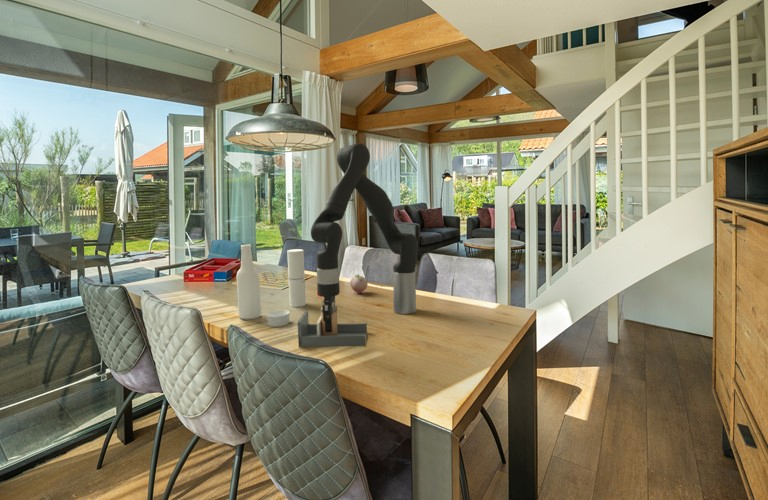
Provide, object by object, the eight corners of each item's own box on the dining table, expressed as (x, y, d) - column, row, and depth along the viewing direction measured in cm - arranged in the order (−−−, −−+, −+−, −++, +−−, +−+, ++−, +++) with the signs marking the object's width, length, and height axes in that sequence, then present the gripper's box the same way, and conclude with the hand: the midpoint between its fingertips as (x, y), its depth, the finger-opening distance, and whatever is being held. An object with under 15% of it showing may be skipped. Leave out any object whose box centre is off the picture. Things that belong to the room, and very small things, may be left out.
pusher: (324, 332, 143) (323, 313, 142) (319, 343, 133) (319, 323, 132) (322, 332, 143) (321, 313, 142) (317, 343, 133) (316, 323, 132)
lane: (366, 332, 144) (366, 309, 143) (365, 346, 131) (364, 321, 130) (306, 333, 144) (305, 310, 143) (298, 347, 131) (297, 322, 130)
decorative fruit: (371, 294, 198) (370, 274, 197) (356, 296, 194) (355, 276, 193) (362, 290, 206) (362, 271, 205) (348, 292, 202) (347, 273, 201)
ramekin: (271, 329, 149) (271, 318, 149) (263, 323, 157) (262, 312, 156) (293, 324, 155) (293, 313, 154) (285, 318, 162) (284, 308, 161)
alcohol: (266, 315, 166) (261, 244, 161) (248, 321, 158) (243, 246, 154) (252, 312, 171) (248, 242, 166) (234, 317, 163) (229, 245, 159)
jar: (338, 334, 140) (338, 304, 139) (337, 339, 135) (336, 309, 133) (323, 334, 140) (321, 305, 139) (320, 340, 135) (319, 309, 133)
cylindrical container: (286, 304, 181) (284, 250, 178) (300, 301, 186) (297, 248, 183) (295, 307, 176) (292, 252, 173) (308, 304, 181) (306, 250, 178)
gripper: (336, 285, 128) (338, 336, 130) (341, 276, 142) (342, 322, 144) (313, 286, 128) (315, 336, 130) (320, 276, 142) (322, 322, 144)
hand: (329, 328), depth 137 cm, fingers closed on jar, 5 cm apart
